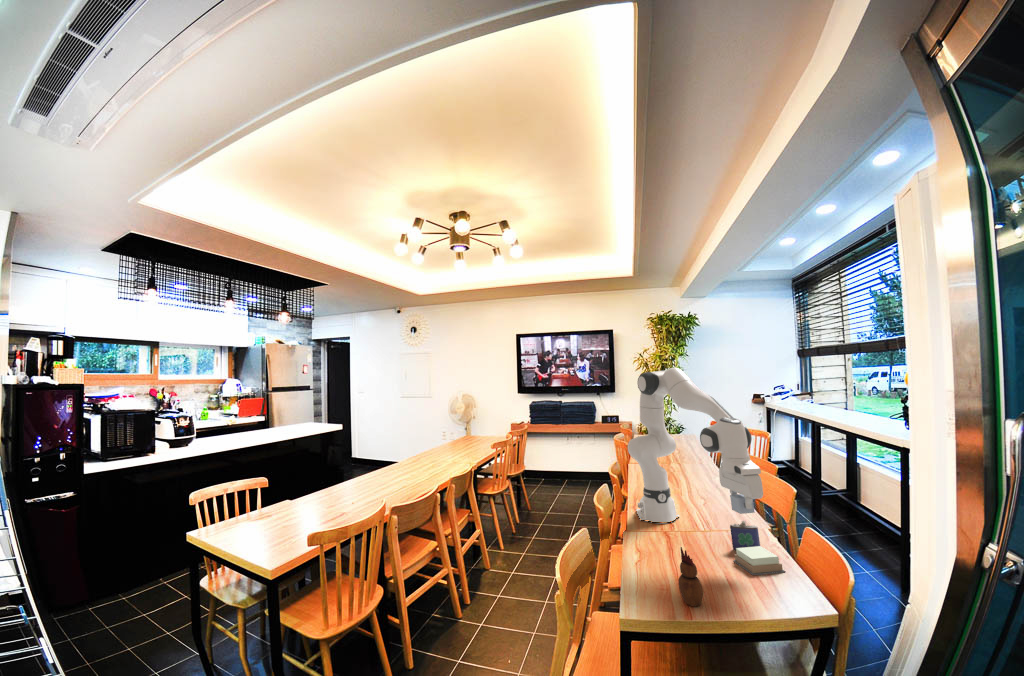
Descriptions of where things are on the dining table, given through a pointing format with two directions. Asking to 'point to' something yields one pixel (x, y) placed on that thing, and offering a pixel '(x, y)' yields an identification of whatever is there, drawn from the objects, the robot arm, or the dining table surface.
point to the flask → (744, 536)
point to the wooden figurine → (689, 581)
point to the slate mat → (758, 573)
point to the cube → (740, 504)
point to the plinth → (759, 568)
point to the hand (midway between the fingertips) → (742, 506)
